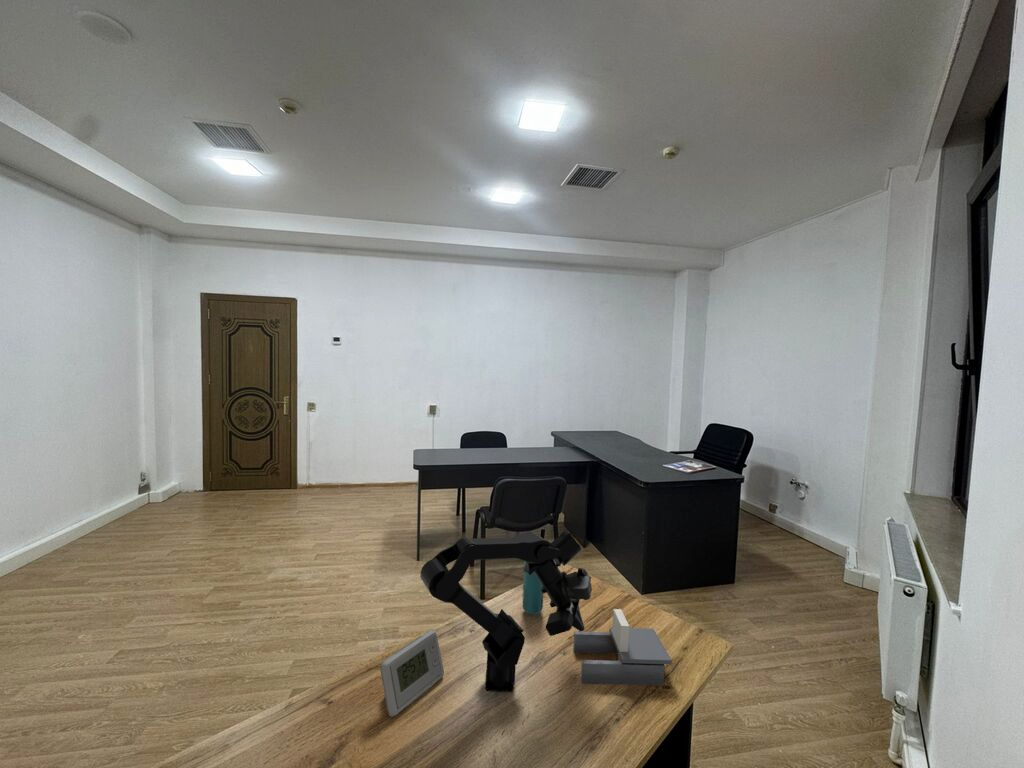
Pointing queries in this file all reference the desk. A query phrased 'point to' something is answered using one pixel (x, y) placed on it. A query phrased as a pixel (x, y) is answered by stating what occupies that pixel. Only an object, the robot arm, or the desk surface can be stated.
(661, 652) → the sliding lid
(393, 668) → the digital clock
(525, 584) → the beverage bottle
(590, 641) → the metal rails
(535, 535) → the robot arm
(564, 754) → the desk surface
